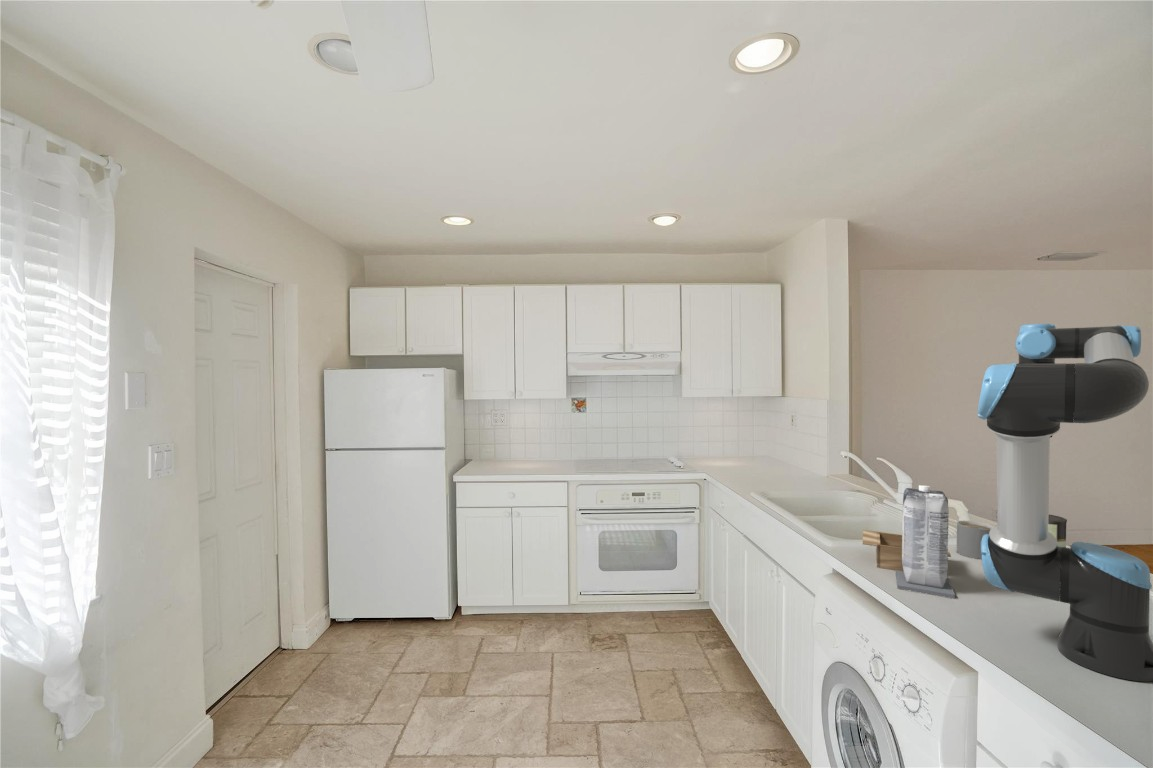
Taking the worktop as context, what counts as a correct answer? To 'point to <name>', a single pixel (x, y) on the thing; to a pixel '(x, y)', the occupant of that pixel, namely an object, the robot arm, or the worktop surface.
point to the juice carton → (925, 536)
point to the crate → (886, 549)
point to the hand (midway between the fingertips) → (1034, 460)
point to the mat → (924, 586)
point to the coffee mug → (971, 538)
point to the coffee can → (1058, 529)
